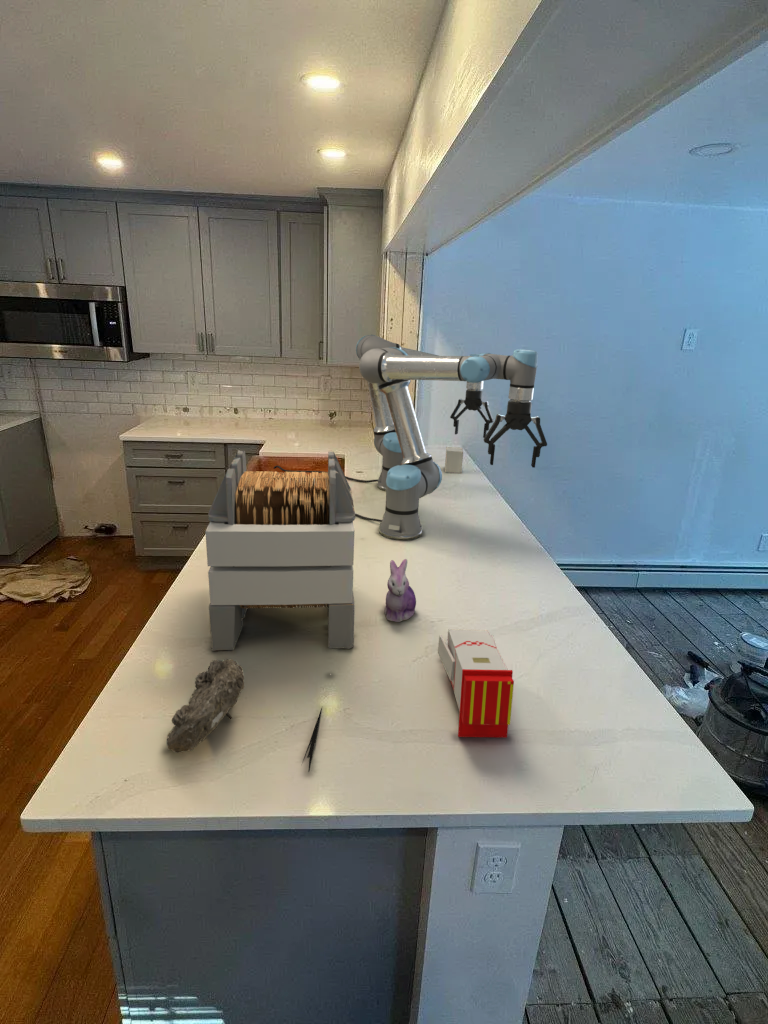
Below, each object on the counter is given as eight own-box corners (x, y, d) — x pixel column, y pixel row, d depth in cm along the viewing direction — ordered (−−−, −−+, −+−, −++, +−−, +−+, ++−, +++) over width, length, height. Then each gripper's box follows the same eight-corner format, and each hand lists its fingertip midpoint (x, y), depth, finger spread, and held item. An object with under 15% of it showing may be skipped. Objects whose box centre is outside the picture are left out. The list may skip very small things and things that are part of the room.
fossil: (192, 660, 117) (244, 628, 112) (224, 691, 120) (276, 661, 115) (142, 746, 98) (202, 712, 93) (182, 779, 101) (242, 748, 96)
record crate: (231, 583, 159) (223, 441, 145) (347, 582, 163) (350, 443, 149) (209, 653, 127) (196, 479, 114) (354, 649, 131) (359, 481, 117)
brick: (461, 473, 278) (463, 451, 275) (445, 472, 279) (446, 450, 275) (460, 468, 287) (462, 447, 283) (444, 467, 287) (446, 446, 284)
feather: (331, 679, 122) (336, 673, 122) (307, 777, 96) (313, 769, 95) (324, 675, 122) (329, 669, 121) (298, 772, 95) (304, 764, 95)
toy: (488, 613, 130) (523, 677, 101) (484, 667, 133) (517, 744, 104) (435, 612, 130) (455, 676, 101) (432, 666, 133) (451, 743, 103)
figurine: (392, 627, 141) (395, 572, 136) (374, 608, 149) (376, 556, 144) (425, 619, 145) (429, 566, 140) (405, 601, 154) (408, 550, 149)
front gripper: (557, 400, 183) (548, 464, 190) (479, 396, 184) (473, 460, 191) (562, 404, 176) (552, 470, 183) (481, 400, 177) (475, 465, 184)
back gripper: (503, 391, 257) (498, 437, 265) (450, 386, 266) (447, 431, 273) (499, 393, 251) (494, 440, 258) (445, 388, 260) (442, 433, 267)
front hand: (512, 465), depth 187 cm, fingers open, 13 cm apart
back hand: (470, 435), depth 266 cm, fingers open, 13 cm apart
